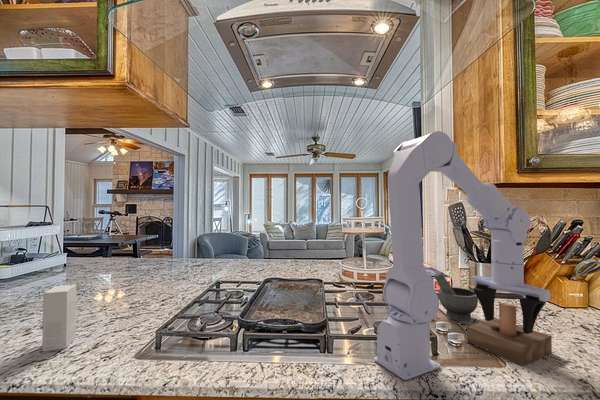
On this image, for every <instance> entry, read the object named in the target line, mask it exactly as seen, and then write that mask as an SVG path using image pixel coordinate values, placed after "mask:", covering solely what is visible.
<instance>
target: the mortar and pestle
mask: <svg viewBox="0 0 600 400" xmlns="http://www.w3.org/2000/svg"><path fill="white" fill-rule="evenodd" d="M432 278H433V280H435V281H436V282H437V284H438V286H439V290H438V298H439V303H441V306H442V307H443V309H445V310H446V313H445V317H447V318H448V319H451V320H453V321H454V320H455V321H457V322H459V321H460V322H468V321H471V319H472V315H471V314H472V313H474V312H475V310H476V309H477V307H478V303H479V299H478V298H477V296H476V294H475V293H474V290H472V289H467V288H463V287H454V286H451V284H450V282H449V281H448V280H447V278H446V277H445V275H444V272H443V271H438V272H436V273H435V274H433V277H432Z"/></svg>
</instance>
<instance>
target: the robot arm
mask: <svg viewBox="0 0 600 400" xmlns="http://www.w3.org/2000/svg"><path fill="white" fill-rule="evenodd" d="M430 172H436V173H441V174H443V175H444V176H445V177H446V178H447V179H449V180H450V181H451V182H453V183H454V184H455V185H456V186H457V187H459V188H460V189H461V190H462V191H463V192H464V193H465V194H466V201H467V203H468V204H469V206H471V207H472V208H473V209H474V210H475V211H476V212H478V213H479V215H481V218H482V219H483V223H484V226H485V228H486V230H487V229H488V230H489V231H490V232H491V234H490V235H491V236H490V239H491V240H490V241H491V245H490V246H491V249H490V250H491V263H490V264H491V277H489V276H488V277H487V276H482V275H472V276H471V285H473V286H475V287H473V290H472V291H474V293H475V294H476V296H477V298H478V302H479V304H480V306H481V309H482V311H483V316H484V319H485V320H484V321H490V320H494V319H495V301H496V299H495V298H496V294H497V291H501V292H502V291H503V292H506V293H509V294H510V293H511V294H514V295H519V296H522V298H519V304H520V308H521V313H522V327H523V332H524V333H526V334H529V333H532V332H533V330H534V327H535V324H536V320H537V318H538V315H539V314H540V312H541V310H542V309H543V308H544V306H545V305H546V304H547V302H549V301H551V290H548V289H545V288H541V287H537V286H533V285H531V284H527V283H525V280H524V279H525V277H524V276H525V275H524V274H525V272H524V269H525V267H524V263H525V261H524V259H525V257H524V256H525V255H524V243H525V242H526V240H527V238H528V237H527V235H528V232H529V230H530V227H531V224H532V220H531V219H530V216H529V214H528V212H527V211H526V210H524V209H523V208H522V207H520V206H514V205H513V204H512V203H511V201H510V200H509V199H507V197H506V196H504V195H503V194H502V193H501V192H500V191H499V190H498V189H497V186H496V185H495V184H494V183H490V182H482V181H481V180H480V179H479V177H478V176H477V175H476V174H475V173H474V172H473V171H472V169H471V168H470V167H469V166H468V165H467V164H466V162H465V161H464V160H463V159H462V158H461V156H460V155H459V154H458V145H457V143H456V142H454V141H453V140H452V139H451V137H450V136H449V135H448V134H447V133H445V132H443V131H440V130H439V131H438V130H435V131H433V132H431V133H428V134H427V135H423V136H419V137H417V138H414V139H411V140H405V141H403V142H402V143H401V144H400V145H398V147H396V149H395V150H393V160H392V163H391V166H390V168H389V171H388V173H387V189H388V202H389V203H388V204H389V205H388V206H389V218H390V219H389V221H390V233H391V249H392V252H391V253H392V263H393V264H392V266H391V268H389V269H388V270H386V271H385V283H384V285H383V288H382V289H383V290H382V297H383V299H384V302H385V303H386V304H387V305H388V311H389V315H388V317H387V318H386V319H385V320H382V321H381V322H380V323H379V324H378V326H377V329H376V330H377V331H376V356H375V357H373V359H374V361H375V362H376V363H378V364H379V365H381V366H383V367H384V368H385V369H387V370H388V371H389V372H391V373H393V374H395V375H396V376H398V377H399V378H400V379H402V380H404V381H407V380H411V379H413V378H416V377H418V376H421V375H423V374H427V373H430V372H431V371H435V370H437V369H440V368H441V367H442V365H441V364H440V363H438V362H436V361H435V360H432V359H431V348H430V347H431V336H430V335H431V333H430V332H431V329H430V328H431V327H430V326H431V323H432V322H433V319H434V318H435V317H436V316H437V314H438V311H439V309H440V299H439V294H437V292H436V290H435V285H434V284H435V283H434V278H433V277H432V276H431V274H430V273H429V272H428V271H427V270H426V268H425V266H424V252H423V251H424V249H423V236H422V223H421V222H422V219H421V210H420V209H421V207H420V204H421V203H420V193H419V192H420V189H419V184H420V183H421V182H422V181H423V179H424V178H426V176H428V174H430Z"/></svg>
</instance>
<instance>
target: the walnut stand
mask: <svg viewBox="0 0 600 400" xmlns="http://www.w3.org/2000/svg"><path fill="white" fill-rule="evenodd" d="M466 336H467V337H466V338H467V339H466V340H467V342H469V343H472V344H474V345H477V346H479V347H482V348H484V349H487V350H488V351H490V352H489V353H491V352H492V353H491V354H493V353H494V355H495V356H498V357H501V358H502V359H506V360H507V361H510V362H513V363H515V364H518V365H520V366H523V367H524V366H526V365H528V364H530V363H533V362H535V361H537V360H539V359H542V358H544V357H547V356H548V355H551V354H552V353H553V350H552V349H553V348H552V346H553V345H552V344H553V343H552V338H553V337H552V335H549V334H546V333H543V332H540V331H538V330H534V329H533V332H532V333H529V334H526V333H524V332H523V326H521V325H519V324H518V325H517V324H516V337H511V336H508V335H506V334H503V333H500V332H499V318H494V320H490V321H486V320H484V321H483V322H479V323H476V324H472V325H468V326H466ZM467 342H466V343H467ZM469 343H468V344H469ZM472 344H471V345H472ZM474 345H473V346H474ZM477 346H476V347H477ZM479 347H478V348H479ZM484 349H483V350H484ZM488 351H487V352H488Z"/></svg>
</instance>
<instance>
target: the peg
mask: <svg viewBox="0 0 600 400" xmlns="http://www.w3.org/2000/svg"><path fill="white" fill-rule="evenodd" d="M498 313H499V314H498V317H499V318H498V319H499V332H500V333H503V334H506V335H508V336H511V337H516V325H517V306H516V305H515V304H512V303H506V302H505V303H503V302H500V303H499V304H498Z"/></svg>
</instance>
